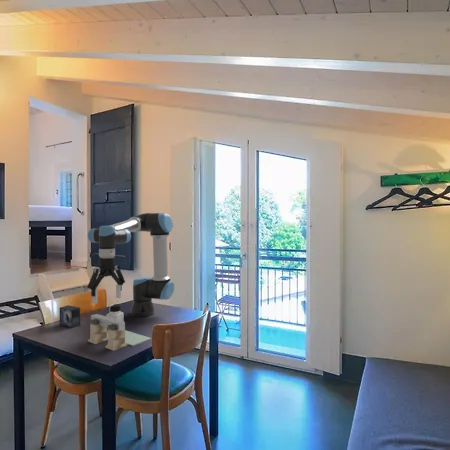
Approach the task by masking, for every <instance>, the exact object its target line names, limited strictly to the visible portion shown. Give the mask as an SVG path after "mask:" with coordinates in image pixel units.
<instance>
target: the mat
mask: <svg viewBox="0 0 450 450" xmlns="http://www.w3.org/2000/svg"><path fill="white" fill-rule="evenodd" d="M107 337H108V331H107ZM150 340H152V337H149V336H146V335H142V334H139V333H135V332H134V331H130V330H126V329H125V343H127V346H130V347H131V346H132V347H134V346H137V345H140V344H143V343H145V342H148V341H150Z"/></svg>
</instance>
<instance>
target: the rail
mask: <svg viewBox="0 0 450 450" xmlns="http://www.w3.org/2000/svg"><path fill="white" fill-rule="evenodd" d="M92 319H93V320H96V321H97V324H98V325H101V326H104V327H107V328H108V325H113V326H115V330H118V331H120V330H123V329H125V330H126V322H125V320H124V321H120V320H117V319H113V318H110V317H106V315H103V314H100V313H99V314H98V313H96V314H91V315H90V320H92Z"/></svg>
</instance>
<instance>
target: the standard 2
mask: <svg viewBox="0 0 450 450" xmlns="http://www.w3.org/2000/svg"><path fill="white" fill-rule="evenodd" d="M125 330H126V328H125V329H123V330H120V331H118V330H115V326H113V325H108V327H107V332H108V340H107V344H106V345H105V349H108V350H111V351H113V352H114V351H117V350H119V349H122V348H124V347H127V346H128V345H127V343H125Z"/></svg>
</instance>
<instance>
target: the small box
mask: <svg viewBox="0 0 450 450" xmlns="http://www.w3.org/2000/svg"><path fill="white" fill-rule="evenodd" d="M58 308H59V309H58V310H59V326H61V327H66V328H70V329H74V328H77V327H80V326H81V307H79V306H75V305H71V304H70V305H69V304H68V305H63V306H62V307H58Z"/></svg>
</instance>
